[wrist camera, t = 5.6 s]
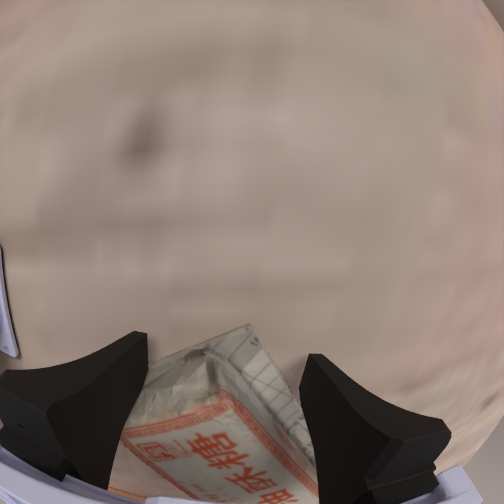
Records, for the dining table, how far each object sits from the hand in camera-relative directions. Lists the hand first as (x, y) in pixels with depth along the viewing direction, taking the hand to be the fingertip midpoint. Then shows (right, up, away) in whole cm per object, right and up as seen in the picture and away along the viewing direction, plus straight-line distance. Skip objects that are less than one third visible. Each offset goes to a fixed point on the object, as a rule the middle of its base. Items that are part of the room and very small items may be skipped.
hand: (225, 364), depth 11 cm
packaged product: (+1, -8, +4) cm, 9 cm away
